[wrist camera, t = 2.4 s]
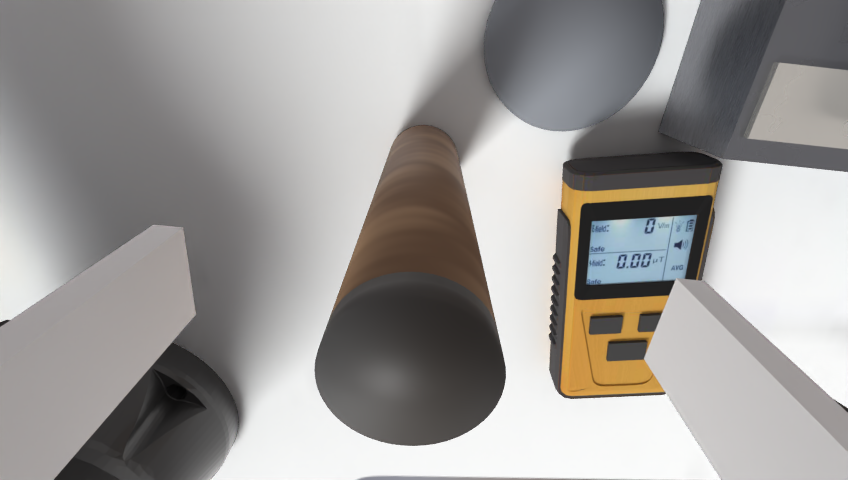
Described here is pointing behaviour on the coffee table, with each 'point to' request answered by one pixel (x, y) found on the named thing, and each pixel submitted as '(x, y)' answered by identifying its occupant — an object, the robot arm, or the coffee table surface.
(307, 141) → the coffee table surface
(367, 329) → the brown cylinder with cap
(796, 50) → the box
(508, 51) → the coaster
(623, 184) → the electronic device
